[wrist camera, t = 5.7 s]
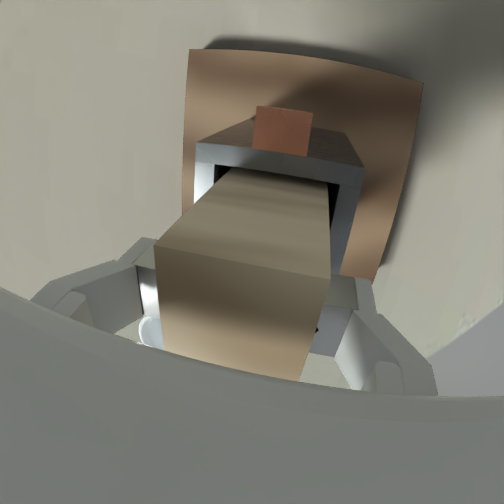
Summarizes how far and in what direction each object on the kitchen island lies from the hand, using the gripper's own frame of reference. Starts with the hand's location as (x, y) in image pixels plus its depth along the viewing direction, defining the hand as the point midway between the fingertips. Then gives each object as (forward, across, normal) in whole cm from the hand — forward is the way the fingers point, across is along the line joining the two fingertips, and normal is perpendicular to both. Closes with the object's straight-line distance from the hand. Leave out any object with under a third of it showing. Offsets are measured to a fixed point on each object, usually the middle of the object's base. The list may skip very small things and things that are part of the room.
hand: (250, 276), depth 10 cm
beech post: (+13, 0, 0) cm, 13 cm away
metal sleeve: (+14, 0, -1) cm, 14 cm away
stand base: (+16, 0, 0) cm, 16 cm away
